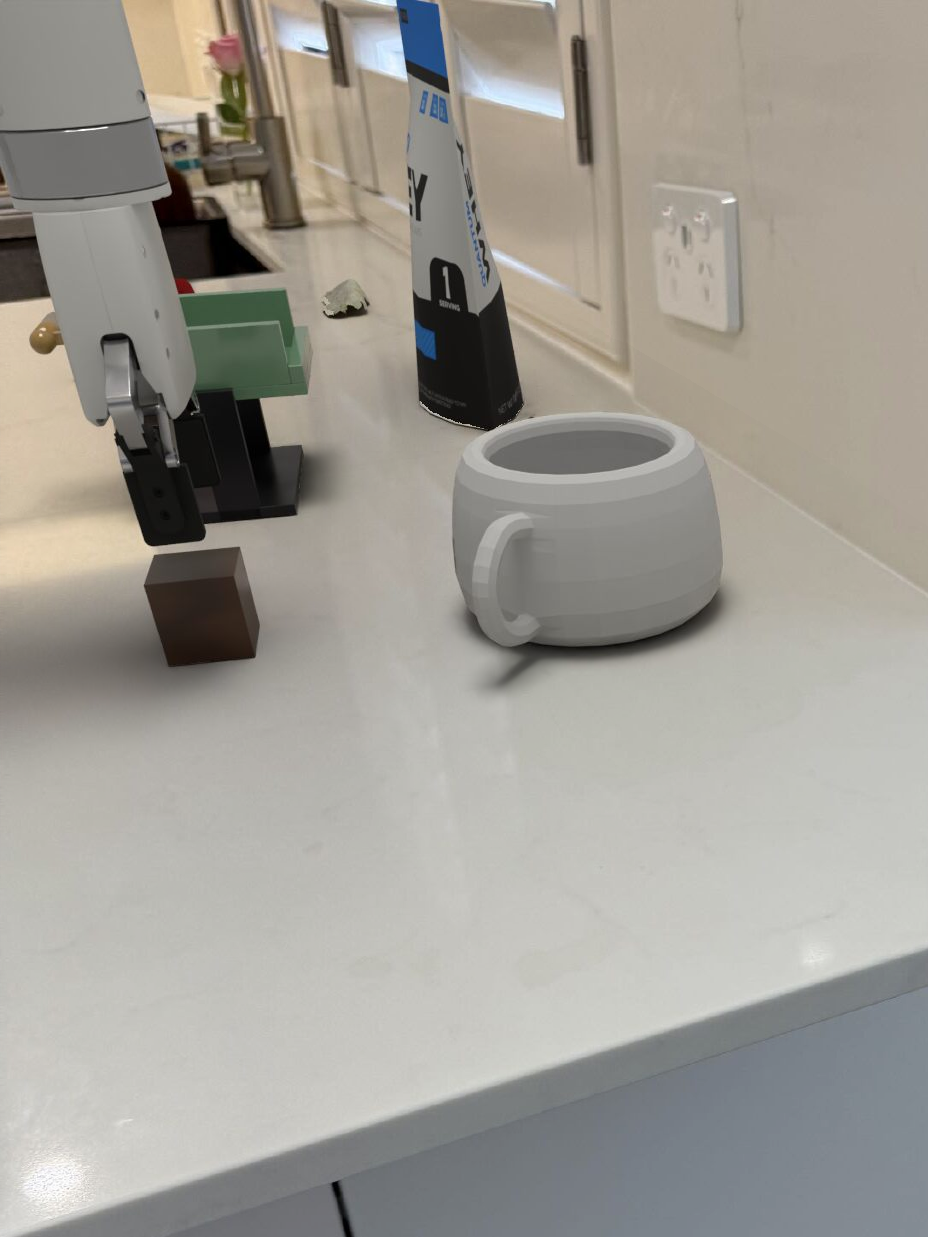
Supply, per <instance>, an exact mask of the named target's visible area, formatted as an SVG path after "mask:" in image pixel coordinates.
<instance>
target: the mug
mask: <svg viewBox="0 0 928 1237" xmlns="http://www.w3.org/2000/svg"><path fill="white" fill-rule="evenodd" d="M458 462H459V463H458V465H457V467H456V471H455V477H454V483H453V491H452V505H451V506H452V507H451V530H452V532H451V533H452V534H451V535H452V536H451V537H452V540H451V541H452V551H453V561H454V562H453V563H454V573H455V576H456V579H457V582H458V585H459V588H460V591H461V594H462V597H463V598H464V601H465V604H466V608H467V609H468V610H469V611H470V612H471V613H472V614H474V615H475V617H476V619H477V622H478V625H479V627H480V629H481V631H482V632H483V633H484V634H485V635H486V637H488V639H491V640H492V641H493V642H495V643H497V644H498V645H500V646H502V647H508V648H510V647H515V646H516V647H517V646H520V645H524V644H526V643H527V642H530V643H534V644H539V645H548V646H559V647H593V646H594V647H597V646H601V647H602V646H609V645H615V644H616V645H617V644H623V643H629V642H630V643H631V642H635V641H638V640H642V639H647V638H650V637H653V636H657V635H658V636H659V635H661V634H663V633H665V632H667V631H670V630H673V629H675V628H677V627H679V626H682V625H683V624H685V623H686V622H688V621H689V620H690V619H692V618H693V617H695V616H696V615H697V614H698V613H700V611H701V610H702V609H704V608H705V607H706V606H707V605H708V604H709V603H710V602H711V601H712V599H713V598H714V597H715V595H716V593H717V591H718V590H719V589H720V583H721V577H722V571H723V565H724V559H723V558H724V557H723V556H724V555H723V554H724V553H723V552H724V551H723V541H722V531H721V522H720V516H719V509H718V503H717V499H716V493H715V488H714V485H713V480H712V476H711V473H710V469H709V466H708V463H707V461H706V456H705V454H704V452H703V451H702V449H701V447H700V445H699V444H698V442H697V441H696V439H695V437H694V436H693V435H692V434H691V433H690V431H688V430H687V429H685V428H683V427H681V426H679V425H677V424H674V423H673V422H671V421H670V422H669V421H667V420H663V419H660V418H656V417H652V416H648V415H641V414H634V413H627V412H608V411H587V412H585V411H584V412H583V411H581V412H568V413H557V414H548V415H542V416H536V417H535V418H531V419H529V418H525V419H521V420H518V421H514V422H511V423H506V424H504V425H502V426H501V427H498V428H496V429H494V430H491V431H487V432H485V433H482V434H481V435H479V436H477V437H476V438H474V439H473V440H472V441H471V442H470V443H468V444H467V445H466V446H465V448H464V450H463V452H462V454H461V457H460V460H459V461H458Z"/></svg>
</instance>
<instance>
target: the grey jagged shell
mask: <svg viewBox="0 0 928 1237" xmlns="http://www.w3.org/2000/svg"><path fill="white" fill-rule="evenodd" d="M323 297H326V299H328V302H330V304H328V305H327V306H326V309H327V310H330V311H334V312H333V313H335V315H336V314H338V313H339V312H342V313H344V314H347V312H346V311H347V310H348V306H352V307H354V308H355V309H357V310H359V309H361V308H362V305H363V308H364V310H365V311H367V310H368V304H367V302H368V303H369V301H370V300H369V299H368V295H367V293H366V292H365V291H364V290H363V288H362V287H361V285H360V284H359V282H358V281H357V280H355V279H351V278H350V279H349V278H348V279H345V280H344V281H343V280H342V282H340V283H338V284H337V285H336V286H335V287H333V288H332V289H331V290H329V291H326V292H325V295H323V296H322V298H323ZM366 301H367V302H366Z"/></svg>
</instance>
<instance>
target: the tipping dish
mask: <svg viewBox="0 0 928 1237" xmlns="http://www.w3.org/2000/svg"><path fill="white" fill-rule="evenodd" d="M178 295H179V299H180V303H181V306H182V310H183V314H184V318H185V322H186V326H187V330H188V334H189V338H190V343H191V347H192V352H193V356H194V361H195V367H196V381H195V385H194V390H208V389H221V388H233V392H234V396H235V400H245V399H258V398H260V399H269V398H282V397H283V398H284V397H293V396H306V395H309V388H310V380H311V372H312V363H313V355H314V350H313V346H312V341H311V335H310V330H309V327H308V325H297V326H295V322H294V318H293V317H294V316H293V313H292V308H291V302H290V298H289V293H288V288H287V287H286V286H281V287H268V288H267V287H266V288H251V289H239V290H225V291H210V292H209V291H208V292H195V293H192V294H178ZM28 342H29V345H30V347H31V349H32V350H33V351H34V352H35V353H37V354H39V355H43V356H45V355H49V354H51V353H53V351H54V350H56V348H57V346H64V342H63V339H62V335H61V332H60V328H59V325H58V321H57V318H56V314H55V311H51V312H49V313H47V314H46V315H45V317H44V318H43V319H42V320H41V321H40V323H39V324H38V325H37V326H36V327H35V328H34V329H33V331H31V333H30V334H29V339H28ZM140 406H144V405H140Z"/></svg>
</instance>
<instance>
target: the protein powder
mask: <svg viewBox="0 0 928 1237" xmlns="http://www.w3.org/2000/svg"><path fill="white" fill-rule="evenodd" d="M395 3H396V10H397V14H398V24H399V30H400V37H401V43H402V52H403V57H404V65H405V72H406V78H407V85H408V92H409V98H410V99H409V101H410V102H409V111H408V126H407V139H406V150H405V151H406V152H405V157H406V168H407V169H406V171H407V183H408V184H407V186H408V210H409V233H410V234H409V235H410V236H409V237H410V262H411V287H412V288H411V291H412V306H413V320H414V321H413V322H414V336H415V337H414V339H415V355H416V356H415V357H416V373H417V388H418V389H417V390H418V402H419V401H421V402H422V404H424V405H425V406H426V407H428V409H429V410H430V411H432V412H433V413H437V414H439V415H440V416H442V417H445V418H447V419H451V420H453V421H455V422H458V423H459V422H460V423H462V424H470V425H472V426H476V427H480V428H484V429H488V430H494V429H495V428H496V427H498V426H499V425H501V424H504V423H506V422H507V421H508V420H510V419H512V420H514V419H515V418H514V417H515V416H516V414H517V413H518V414H519V412H520V411H521V409H520V407H521V406H522V404H523V403H524V398H523V392H522V388H521V382H520V377H519V376H520V375H519V370H518V366H517V360H516V354H515V348H514V343H513V338H512V332H511V328H510V322H509V317H508V312H507V311H508V310H507V306H506V300H505V294H504V290H503V284H502V279H501V276H500V274H499V270H498V267H497V265H496V261H495V259H494V256H493V253H492V250H491V247H490V244H489V241H488V238H487V235H486V231H485V230H486V229H485V226H484V222H483V217H482V212H481V208H480V204H479V198H478V195H477V189H476V185H475V181H474V177H473V176H474V175H473V172H472V167H471V162H470V159H469V157H468V154H467V151H466V149H465V146H464V143H463V140H462V137H461V136H460V133H459V130H458V127H457V125H456V122H455V119H454V114H453V108H452V107H453V104H452V99H451V98H452V97H451V91H450V82H449V75H448V68H447V59H446V54H445V53H446V52H445V44H444V37H443V31H442V26H441V15H440V7H439V4H438V3H436V2H435V3H434V2H429V1H425V0H395ZM523 405H524V404H523ZM522 407H523V406H522ZM522 407H521V408H522ZM519 410H520V411H519ZM518 411H519V412H518ZM518 414H517V415H518ZM516 417H517V416H516ZM513 418H514V419H513ZM507 423H508V422H507ZM507 423H506V424H507ZM504 425H505V424H504ZM488 430H487V431H488Z"/></svg>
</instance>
